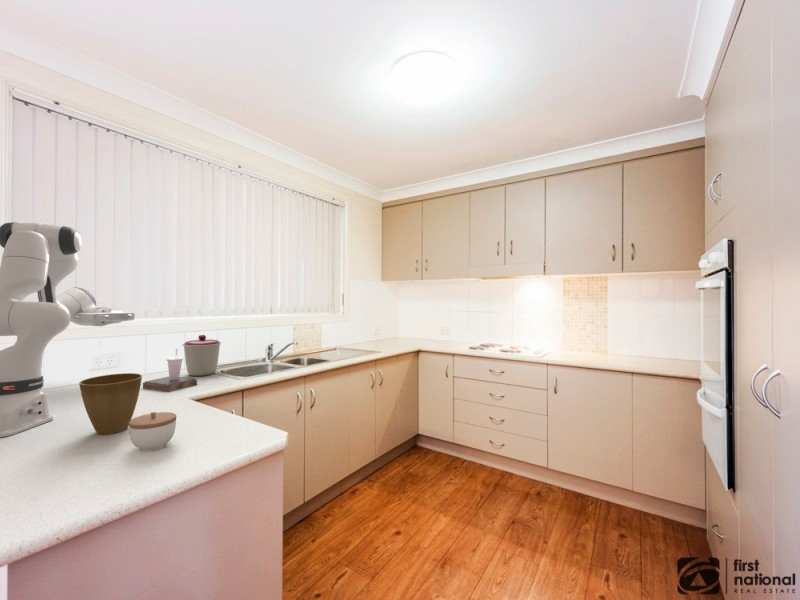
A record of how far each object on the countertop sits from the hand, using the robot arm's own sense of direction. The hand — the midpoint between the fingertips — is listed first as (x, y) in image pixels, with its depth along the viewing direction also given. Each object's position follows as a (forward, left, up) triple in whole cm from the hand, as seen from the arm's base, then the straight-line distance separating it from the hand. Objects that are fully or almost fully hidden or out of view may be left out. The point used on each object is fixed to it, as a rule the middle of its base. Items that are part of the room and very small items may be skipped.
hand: (119, 317), depth 157 cm
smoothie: (+5, -20, -29) cm, 36 cm away
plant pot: (-54, -22, -32) cm, 67 cm away
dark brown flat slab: (+3, -19, -32) cm, 37 cm away
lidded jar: (-70, -39, -32) cm, 87 cm away
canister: (+30, -25, -32) cm, 50 cm away
